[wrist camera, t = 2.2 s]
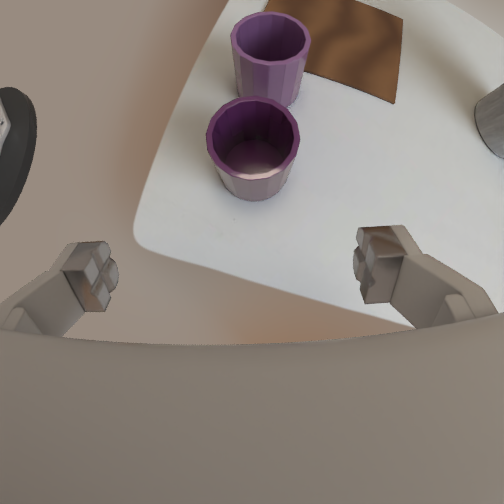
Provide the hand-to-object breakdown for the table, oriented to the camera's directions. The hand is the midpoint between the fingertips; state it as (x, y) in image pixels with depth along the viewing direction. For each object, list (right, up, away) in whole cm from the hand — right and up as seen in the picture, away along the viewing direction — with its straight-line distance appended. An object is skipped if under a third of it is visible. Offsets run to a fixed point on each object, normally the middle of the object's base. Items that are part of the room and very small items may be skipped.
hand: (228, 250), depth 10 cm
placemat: (+12, +30, +24) cm, 40 cm away
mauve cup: (+3, +20, +24) cm, 31 cm away
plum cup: (+1, +9, +24) cm, 25 cm away
